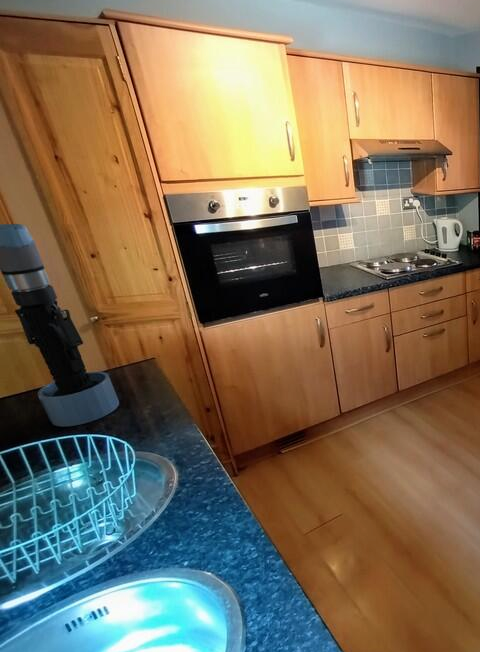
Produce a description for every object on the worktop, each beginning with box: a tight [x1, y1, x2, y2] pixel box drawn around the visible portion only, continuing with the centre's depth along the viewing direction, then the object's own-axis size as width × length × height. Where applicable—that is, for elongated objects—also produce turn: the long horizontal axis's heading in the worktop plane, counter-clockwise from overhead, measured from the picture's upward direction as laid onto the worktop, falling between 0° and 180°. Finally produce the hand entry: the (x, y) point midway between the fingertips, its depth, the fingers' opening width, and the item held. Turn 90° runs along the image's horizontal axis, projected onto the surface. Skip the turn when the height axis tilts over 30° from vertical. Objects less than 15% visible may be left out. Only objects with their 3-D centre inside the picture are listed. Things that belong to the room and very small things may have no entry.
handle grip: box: [19, 300, 99, 397], centre depth 120 cm, size 10×26×10 cm
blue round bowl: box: [37, 371, 120, 427], centre depth 126 cm, size 15×15×9 cm
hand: (67, 368), depth 122 cm, fingers closed on handle grip, 7 cm apart
